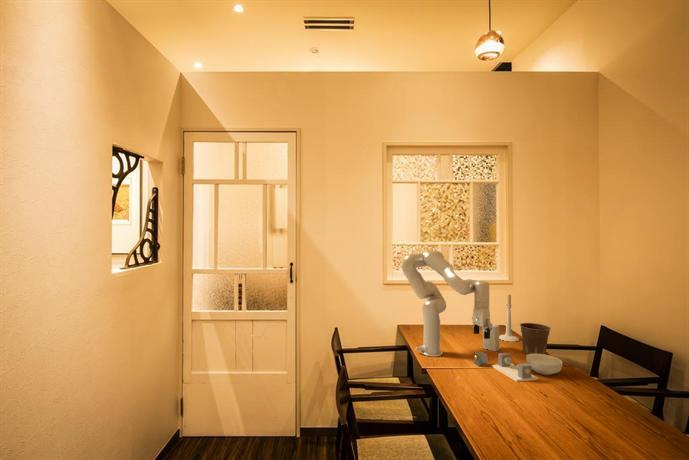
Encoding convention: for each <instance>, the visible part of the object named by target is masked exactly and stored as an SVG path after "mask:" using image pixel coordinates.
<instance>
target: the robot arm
mask: <svg viewBox="0 0 689 460" xmlns="http://www.w3.org/2000/svg"><path fill="white" fill-rule="evenodd" d="M421 267H429V268H431V269H432V270H433V271H434V272H436V273H437V274H439V276H441V277H442V278H443V280H444V281H445V282H446V284H447V285H448V286H449V287H450V288H452V289H453V290H454V291H455V292H456V293H457V294H458V293H459V294H460V295H462V296H465V295H469V294H473V293H474V300H473V301H474V305H473V311H472V316H471V321H472V326H473V334H474V335H478V334H480V328H483V327H484V330H485V331H484V339H490V331H491V329H492V322H491V315H490V313H491V312H490V283H489V282H488V281H485V280H476V279H468V278H467V279H462V278H461V277H460V276H459V275H458V274H456V272H455V271H454V267H453V265H452V263H450V262H449V261H447V260H446V259H445V256H444V254H443V253H442V252H441V251H439V250H431V251H427V252H418V253H410V254H407V255H406V256H405V257H404V258H403V259H402V263H401V270H402V272H403V274H404V276H405V278H406V279H407V282H408V283H409V285H410V287H411V288H412V290H413V292H414V294H415V296H416V297H418V299H421V300H425V299H426V301H424V303H423V305H422V310H421V311H422V316H423V317H422V318H423V333H422V334H423V340H422V342H423V344H421V346H415V349H414V350H415V351H419V352H420V353H421V354H422V355H424V356H427V357H433V358H434V357H441V356H442V355H443V351H442V350H441V319H440V314H442V313H443V312H445V310H447V309H446V308H447V301H446V299H445V297H443V294H442V293H441V291H440V289H439V288H438V287H437V285H436V284H435V283H433V282H432V281H429V280H428V281H426V280H425V279H424V277H423V275H422V274H421V273H420V272H419V270H418V269H417V268H421ZM486 327H487V329H486Z"/></svg>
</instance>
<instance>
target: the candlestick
mask: <svg viewBox="0 0 689 460" xmlns="http://www.w3.org/2000/svg"><path fill="white" fill-rule="evenodd" d="M511 299H512V294H509V293H508V294H507V304H506V308H507V310H506V311H507V312H506V313H507V314H506V325H505V334H499V339H501V340H500V341H502V340H504V341H503V342H506V341H509V342H508V343H517V342H516V341H518V342H520V338H519V337H517V336H516V335H513V334H512V312H511V311H512V310H511V309H512V306H513V304H512V300H511Z"/></svg>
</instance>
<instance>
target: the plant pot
mask: <svg viewBox="0 0 689 460" xmlns="http://www.w3.org/2000/svg"><path fill="white" fill-rule="evenodd" d="M519 327H520V332H521V343H522V352H523V353H524V354H525V355H528V354H545V355H547V346H548V341H549V336H550V330H551V329H552V327H550V326H548V325H545V324H540V323H536V322H535V323H534V322H522V323H519Z"/></svg>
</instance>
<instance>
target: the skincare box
mask: <svg viewBox="0 0 689 460" xmlns="http://www.w3.org/2000/svg"><path fill="white" fill-rule="evenodd" d="M486 329H487V327H486ZM484 331H485V330H484V327H482V349H483V348H484V349H483V350H487V349H488V350H489V351H491V352H498V351H500V346H501V345H500V344H501V343H500V340H499V336H500V325H499V324H494V323H493V324H492V329H491V331H490V339H484Z"/></svg>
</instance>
